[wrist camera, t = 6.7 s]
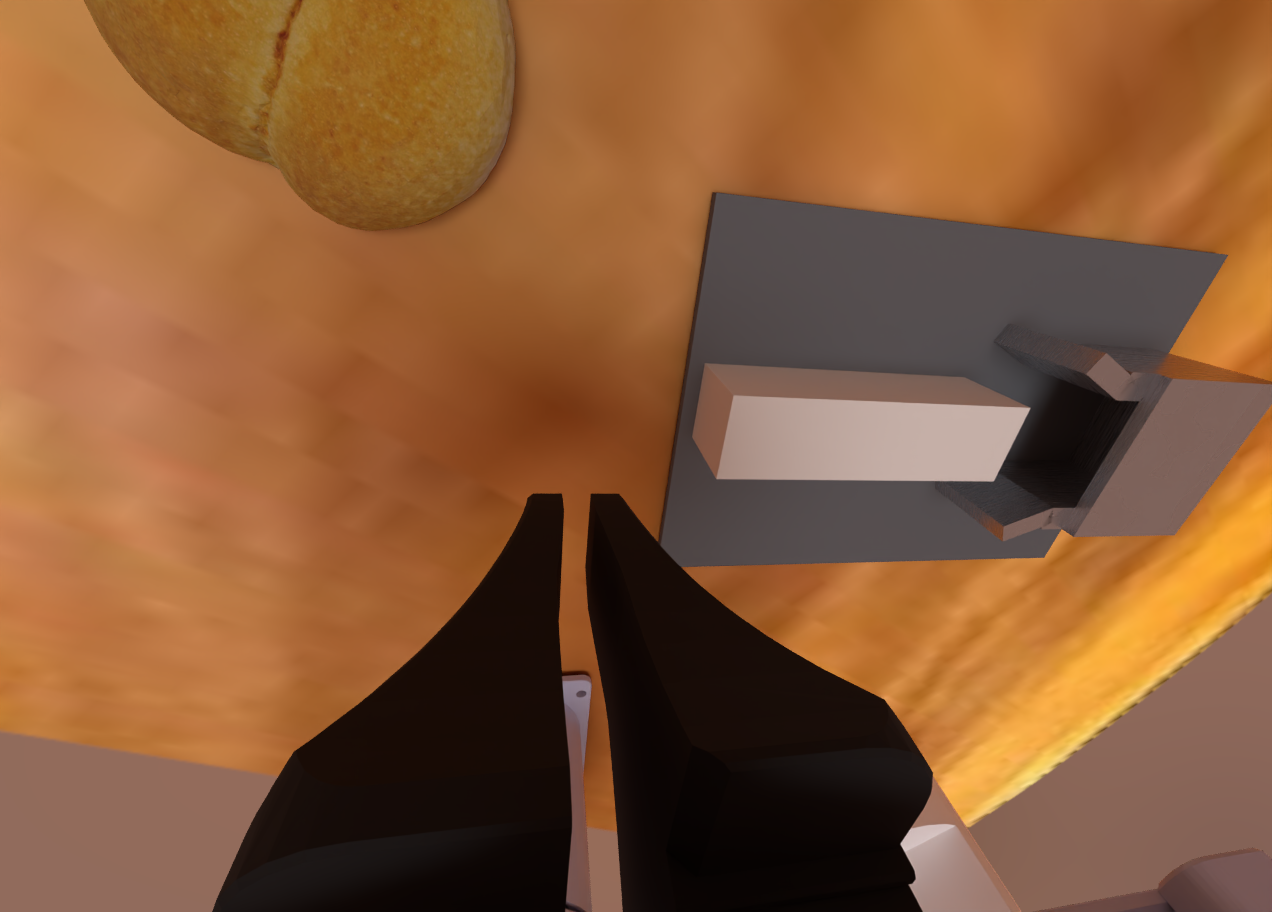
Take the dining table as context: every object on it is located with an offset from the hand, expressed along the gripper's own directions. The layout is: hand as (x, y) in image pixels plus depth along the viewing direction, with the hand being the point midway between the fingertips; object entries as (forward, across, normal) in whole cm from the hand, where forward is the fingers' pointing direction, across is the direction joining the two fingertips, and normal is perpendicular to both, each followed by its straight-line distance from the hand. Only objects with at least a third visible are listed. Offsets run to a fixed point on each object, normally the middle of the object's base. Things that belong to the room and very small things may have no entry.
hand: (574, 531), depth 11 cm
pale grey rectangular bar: (+8, -11, 0) cm, 13 cm away
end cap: (+8, -21, 0) cm, 22 cm away
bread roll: (+9, +6, -10) cm, 14 cm away
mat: (+8, -15, 0) cm, 17 cm away
